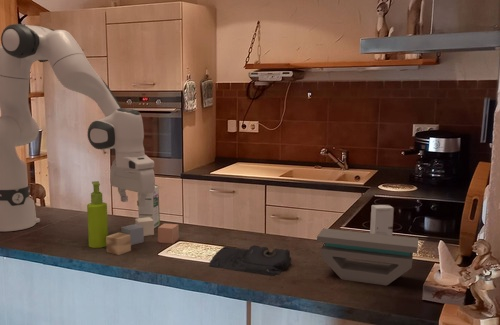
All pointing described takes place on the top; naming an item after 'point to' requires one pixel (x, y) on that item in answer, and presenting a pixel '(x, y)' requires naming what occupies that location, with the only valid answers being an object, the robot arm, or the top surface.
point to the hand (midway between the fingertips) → (132, 203)
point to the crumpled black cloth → (252, 260)
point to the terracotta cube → (168, 233)
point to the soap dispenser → (97, 219)
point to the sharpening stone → (367, 255)
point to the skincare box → (381, 219)
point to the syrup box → (151, 207)
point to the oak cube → (118, 243)
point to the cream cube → (146, 225)
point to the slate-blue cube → (134, 233)
